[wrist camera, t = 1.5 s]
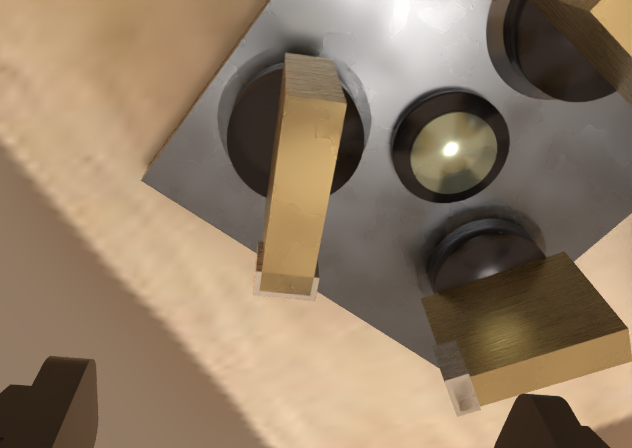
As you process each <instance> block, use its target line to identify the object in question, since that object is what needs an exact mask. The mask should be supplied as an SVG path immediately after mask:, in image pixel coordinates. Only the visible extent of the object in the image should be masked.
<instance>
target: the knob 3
mask: <svg viewBox="0 0 632 448" xmlns="http://www.w3.org/2000/svg"><path fill="white" fill-rule="evenodd" d="M428 278H429V282H430V285H431V288H432V290H433V293H434V294H433V295H430V296H427V297H424V298H421V301H422V304H423V307H424V310H425V312H426V315H427V318H428V321H429V324H430V327H431V329H432V332H433V335H434V338H435V341H436V344H437V345H436V346H433V349H434V352H435V355H436V358H437V361H438V364H439V367H440V370H441V373H442V376H443V379H444V382H445V384H446V387H447V390H448V393H449V395H450V398H451V401H452V403H453V406H454V409H455V412H456V414H457V417H458V416H461V415H465V414H468V413H471V412H475V411H478V410H481V409H480V406H483V405H487V404H490V403H493V402H497V401H500V400H503V399H507V398H510V397H514V396H517V395H520V394H524V393H527V392H530V391H534V390H537V389H540V388H544V387H547V386H551V385H554V384H557V383H561V382H564V381H567V380H571V379H574V378H577V377H581V376H584V375H588V374H591V373H594V372H598V371H601V370H604V369H608V368H611V367H614V366H618V365H621V364H625V363H628V362H631V361H632V355H631V346H630V338H629V330H628V328H627V326H626V325H625V324H624V323H623V322H622V320H621V319H620V318H619V317H618V316H617V314H616V313H615V312H614V311H613V309H612V308H611V307H610V306H609V305H608V303H607V302H606V301H605V300H604V299H603V297H602V296H601V295H600V294H599V292H598V291H597V290H596V289H595V288H594V286H593V285H592V284H591V283H590V282H589V280H588V279H587V278H586V277H585V275H584V274H583V273H582V272H581V271H580V269H579V268H578V267H577V266H576V265H575V263H574V262H573V261H572V260H571V258H570V257H569V256H568V255H567V254H566V252H565V251H564V252H561V253H558V254H554V255H551V256H548V257H546V256H545V255H544V253H543V252H542V251H541V249H540V248H539V247H538V245H537V244H536V243H535V241H534V240H533V239H532V237H531V236H530V235H529V234H528V232H527V231H525V230H524V229H523V228H522V227H520V226H519V225H517V224H515V223H513V222H510V221H507V220H502V219H482V220H477V221H473V222H470V223H467V224H465V225H463V226H461V227H459V228H457V229H455V230H454V231H452V232H451V233H450V234H448V235H447V236H446V237H445V238H444V239H443V240H442V241H441V242H440V243H439V244H438V246H437V247H436V249H435V250H434V252H433V254H432V256H431V259H430V262H429V266H428Z"/></svg>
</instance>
